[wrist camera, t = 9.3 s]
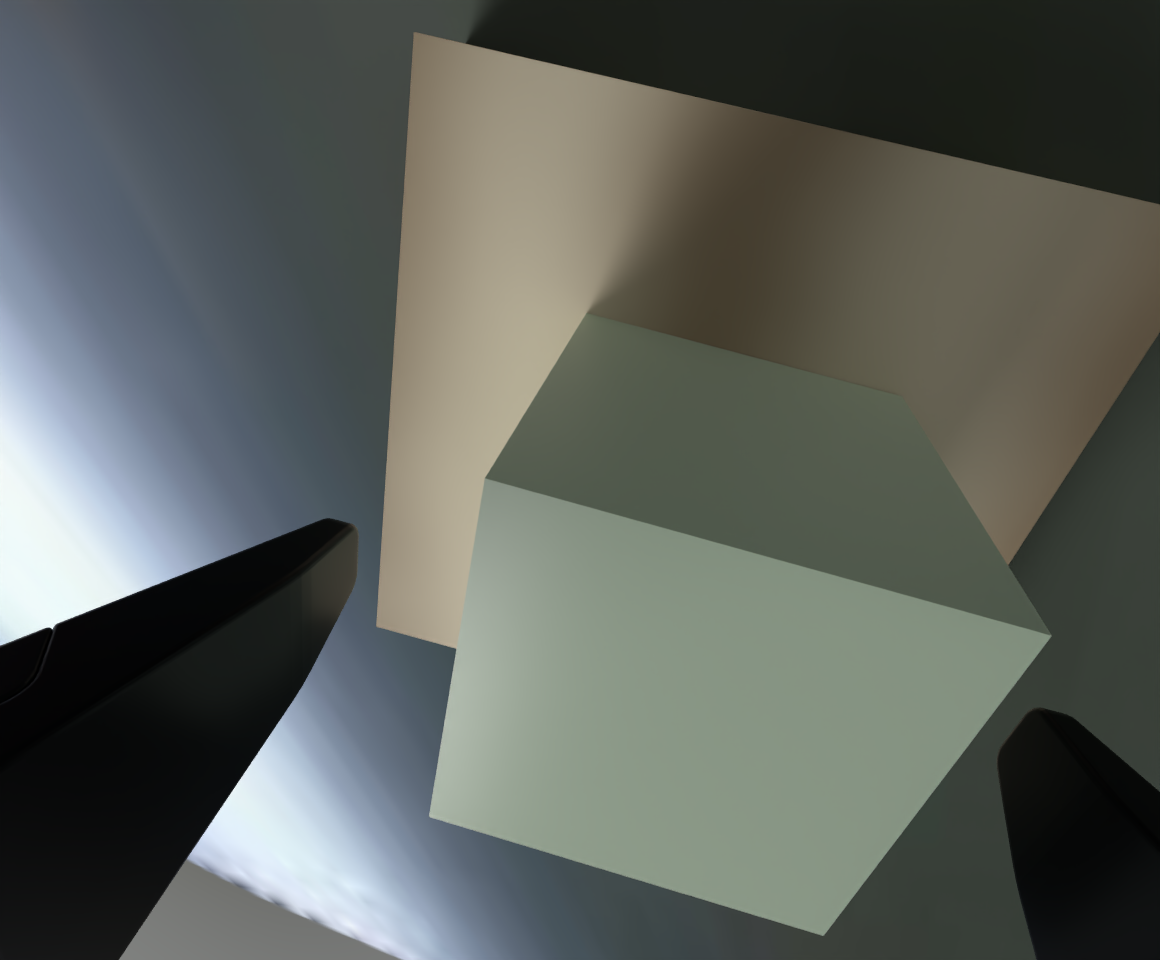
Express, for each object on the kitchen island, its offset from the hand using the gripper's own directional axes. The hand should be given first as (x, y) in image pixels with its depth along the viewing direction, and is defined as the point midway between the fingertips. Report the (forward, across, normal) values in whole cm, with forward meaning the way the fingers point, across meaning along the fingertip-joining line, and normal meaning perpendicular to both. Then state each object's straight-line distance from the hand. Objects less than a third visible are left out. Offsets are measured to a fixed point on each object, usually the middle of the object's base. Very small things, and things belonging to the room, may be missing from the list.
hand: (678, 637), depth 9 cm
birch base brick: (+8, 0, 0) cm, 8 cm away
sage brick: (+4, 0, 0) cm, 5 cm away
